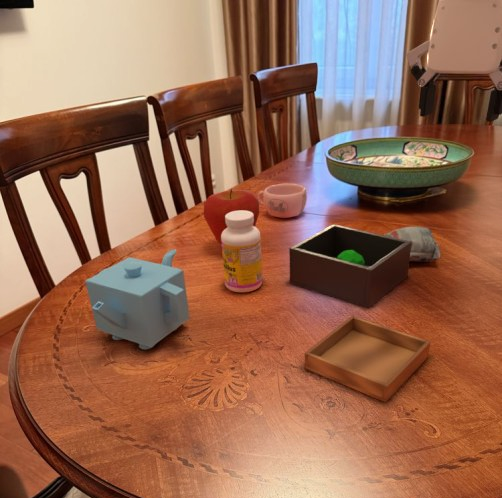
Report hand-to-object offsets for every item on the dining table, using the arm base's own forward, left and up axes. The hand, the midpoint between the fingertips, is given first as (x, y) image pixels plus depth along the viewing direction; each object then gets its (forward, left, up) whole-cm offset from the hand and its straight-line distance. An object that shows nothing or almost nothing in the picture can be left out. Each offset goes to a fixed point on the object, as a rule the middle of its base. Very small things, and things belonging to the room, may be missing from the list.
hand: (458, 117), depth 75 cm
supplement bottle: (+26, +20, -26) cm, 42 cm away
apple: (+39, +8, -26) cm, 48 cm away
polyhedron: (+12, +8, -26) cm, 30 cm away
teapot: (+28, +40, -26) cm, 56 cm away
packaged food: (+8, -7, -26) cm, 29 cm away
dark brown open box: (+12, +8, -26) cm, 30 cm away
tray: (-3, +28, -26) cm, 39 cm away
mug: (+43, -13, -26) cm, 52 cm away
